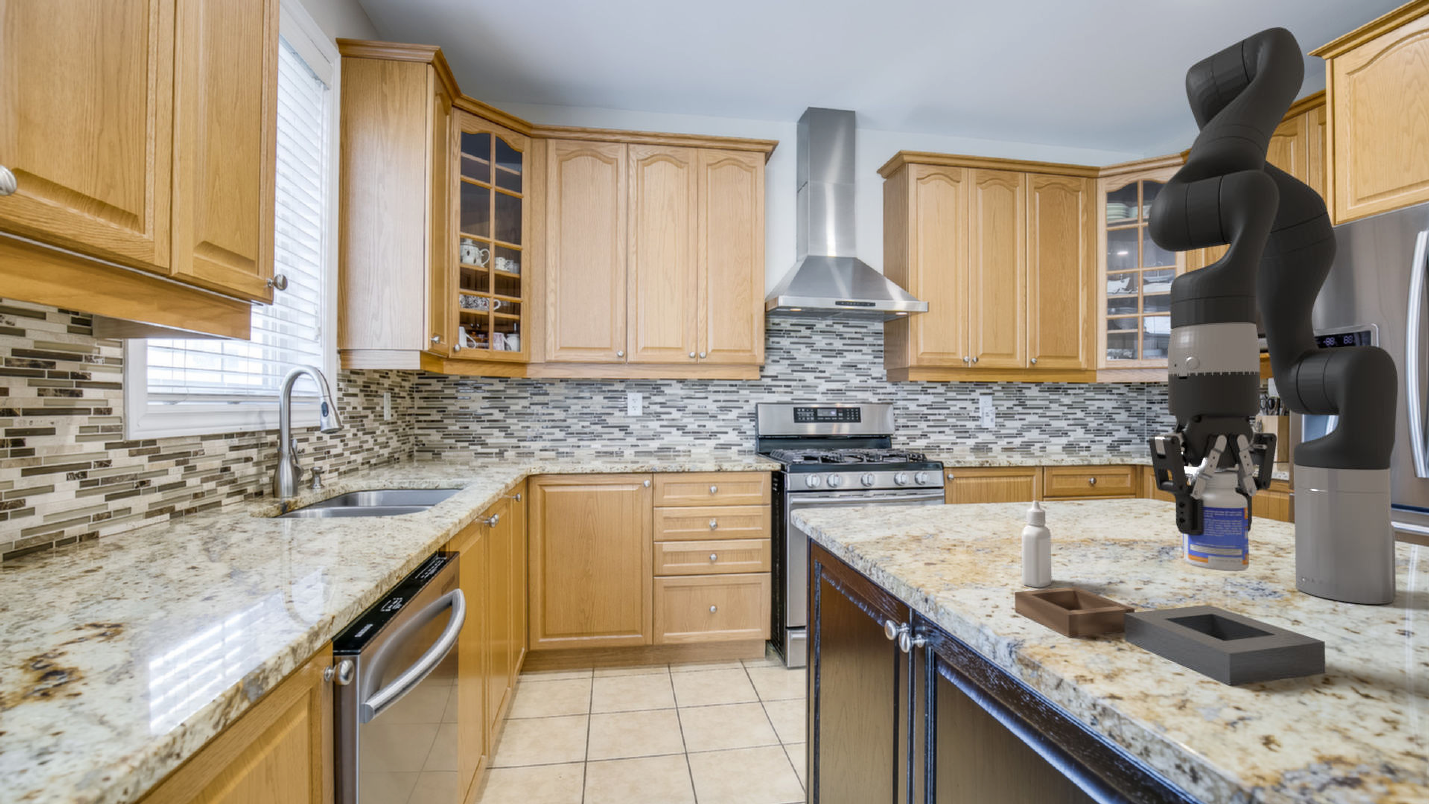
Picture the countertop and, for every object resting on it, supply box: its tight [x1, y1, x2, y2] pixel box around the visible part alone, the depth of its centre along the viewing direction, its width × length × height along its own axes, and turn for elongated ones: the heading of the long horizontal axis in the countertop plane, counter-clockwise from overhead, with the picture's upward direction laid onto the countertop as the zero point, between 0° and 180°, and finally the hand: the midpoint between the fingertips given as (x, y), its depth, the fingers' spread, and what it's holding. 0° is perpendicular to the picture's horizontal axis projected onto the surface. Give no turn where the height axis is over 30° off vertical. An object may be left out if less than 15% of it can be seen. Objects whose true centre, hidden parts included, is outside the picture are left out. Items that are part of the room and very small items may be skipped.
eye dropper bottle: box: [1021, 500, 1053, 589], centre depth 92 cm, size 4×6×12 cm
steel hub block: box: [1124, 604, 1326, 686], centre depth 65 cm, size 12×12×3 cm
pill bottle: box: [1182, 471, 1250, 572], centre depth 65 cm, size 5×5×10 cm
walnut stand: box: [1014, 586, 1136, 638], centre depth 76 cm, size 9×9×2 cm
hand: (1213, 531), depth 65 cm, fingers closed on pill bottle, 5 cm apart
